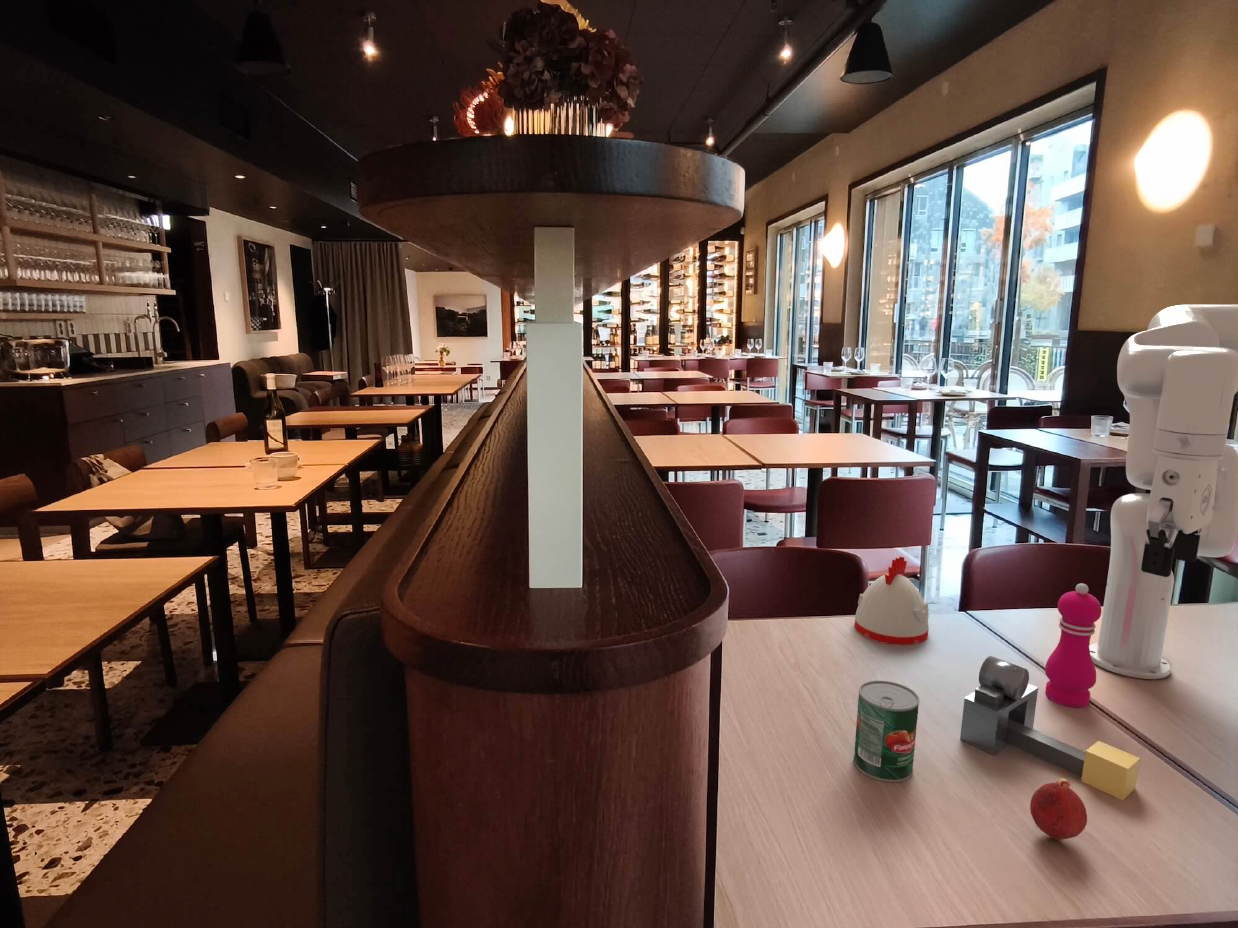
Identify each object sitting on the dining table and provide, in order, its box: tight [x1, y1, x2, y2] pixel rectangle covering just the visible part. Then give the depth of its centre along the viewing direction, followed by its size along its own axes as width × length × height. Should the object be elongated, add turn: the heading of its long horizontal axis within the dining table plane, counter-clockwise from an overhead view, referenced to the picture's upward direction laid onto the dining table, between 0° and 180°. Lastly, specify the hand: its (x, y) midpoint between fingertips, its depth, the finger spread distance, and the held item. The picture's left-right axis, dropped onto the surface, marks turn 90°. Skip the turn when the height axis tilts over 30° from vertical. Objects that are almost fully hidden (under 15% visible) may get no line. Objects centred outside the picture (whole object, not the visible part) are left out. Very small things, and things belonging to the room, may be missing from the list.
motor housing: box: [959, 655, 1039, 756], centre depth 109 cm, size 12×5×12 cm, turn 126°
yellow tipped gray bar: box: [1005, 719, 1141, 801], centre depth 104 cm, size 4×20×5 cm, turn 36°
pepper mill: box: [1044, 583, 1102, 708], centre depth 119 cm, size 7×7×20 cm
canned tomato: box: [853, 679, 920, 783], centre depth 102 cm, size 8×8×11 cm
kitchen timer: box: [854, 556, 930, 646], centre depth 146 cm, size 14×14×15 cm
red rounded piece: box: [1029, 777, 1088, 841], centre depth 88 cm, size 6×6×8 cm
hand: (1168, 566), depth 100 cm, fingers open, 9 cm apart
